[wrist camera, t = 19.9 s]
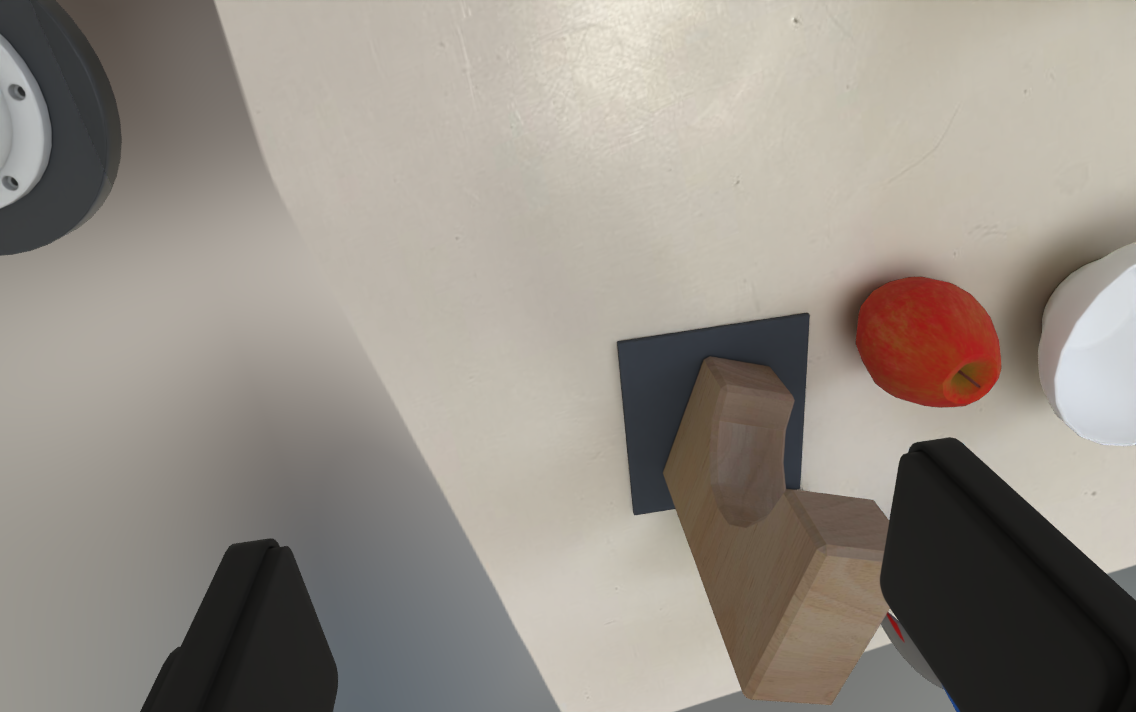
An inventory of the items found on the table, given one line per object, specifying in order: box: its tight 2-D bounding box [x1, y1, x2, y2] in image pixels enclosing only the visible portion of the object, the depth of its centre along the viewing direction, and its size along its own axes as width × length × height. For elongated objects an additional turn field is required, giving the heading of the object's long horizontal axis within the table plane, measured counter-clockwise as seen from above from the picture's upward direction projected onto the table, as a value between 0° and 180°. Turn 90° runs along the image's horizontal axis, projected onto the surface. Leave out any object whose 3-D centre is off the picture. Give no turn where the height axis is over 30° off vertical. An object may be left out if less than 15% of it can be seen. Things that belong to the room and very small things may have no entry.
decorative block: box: [663, 356, 890, 705], centre depth 43 cm, size 11×6×20 cm, turn 166°
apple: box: [856, 277, 1001, 407], centre depth 44 cm, size 8×8×11 cm
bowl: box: [1038, 242, 1136, 446], centre depth 47 cm, size 16×16×7 cm
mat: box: [617, 313, 810, 515], centre depth 52 cm, size 14×16×1 cm
